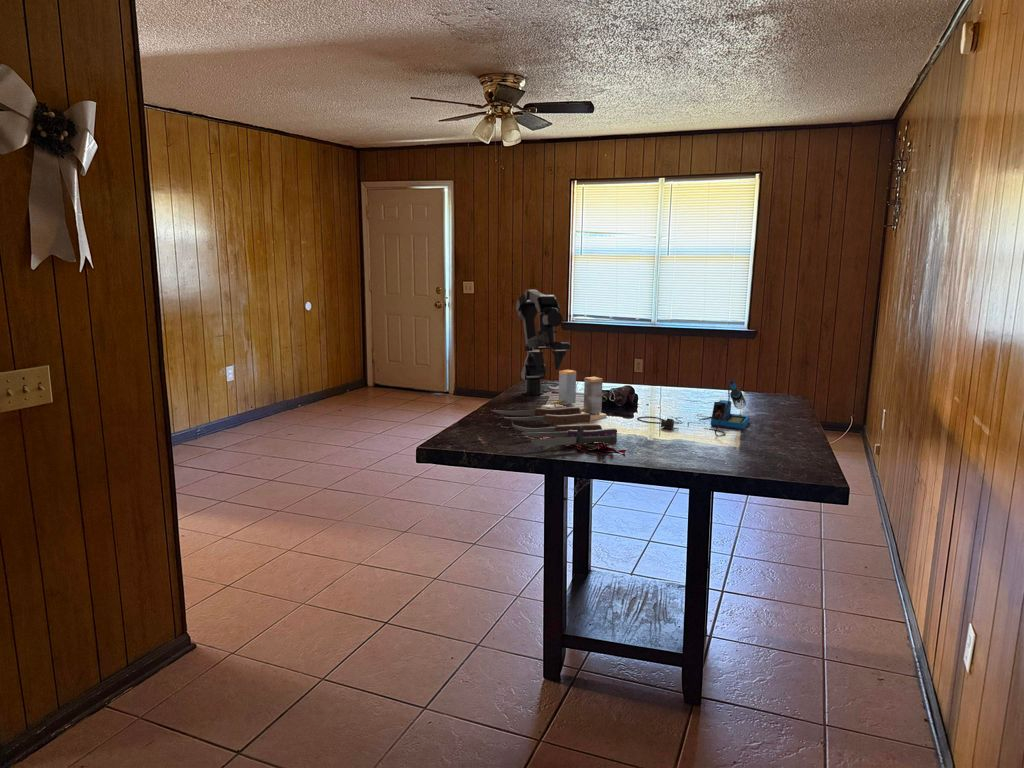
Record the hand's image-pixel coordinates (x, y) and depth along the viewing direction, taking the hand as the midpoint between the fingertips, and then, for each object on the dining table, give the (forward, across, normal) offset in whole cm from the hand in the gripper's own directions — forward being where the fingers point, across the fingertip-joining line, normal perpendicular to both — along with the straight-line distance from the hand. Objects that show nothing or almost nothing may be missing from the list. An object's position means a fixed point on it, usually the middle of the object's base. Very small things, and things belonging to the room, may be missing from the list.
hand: (547, 369), depth 262 cm
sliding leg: (+13, +9, -3) cm, 16 cm away
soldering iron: (+20, +49, +19) cm, 56 cm away
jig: (+16, +14, -3) cm, 21 cm away
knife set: (+20, +32, -30) cm, 48 cm away
